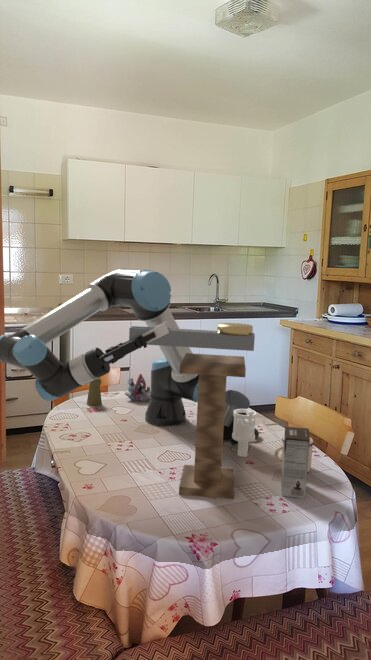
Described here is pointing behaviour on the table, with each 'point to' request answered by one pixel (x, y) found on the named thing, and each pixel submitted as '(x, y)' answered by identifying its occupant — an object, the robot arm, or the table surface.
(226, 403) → the milk frother
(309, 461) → the teacup with lid
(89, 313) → the robot arm
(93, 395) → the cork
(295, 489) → the coffee box
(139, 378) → the pink and grey figurine
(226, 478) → the walnut stand
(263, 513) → the table surface
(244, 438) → the strainer
